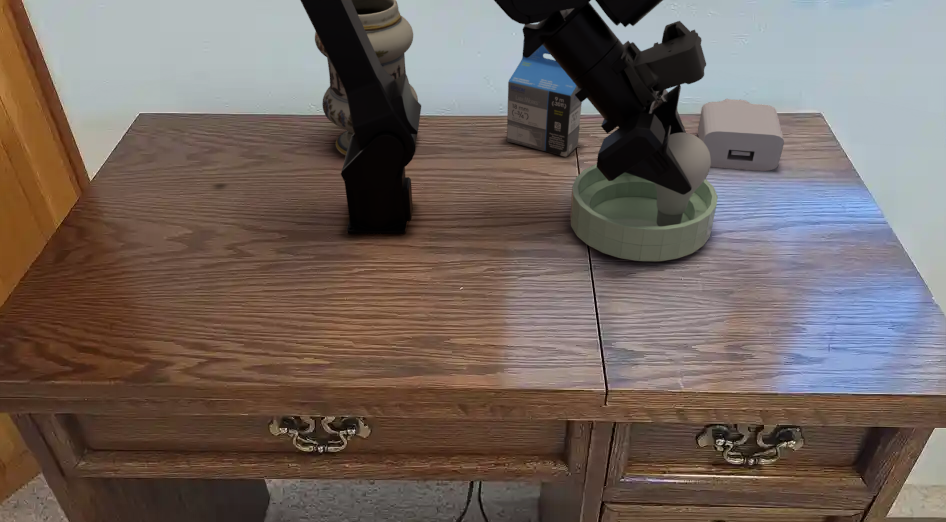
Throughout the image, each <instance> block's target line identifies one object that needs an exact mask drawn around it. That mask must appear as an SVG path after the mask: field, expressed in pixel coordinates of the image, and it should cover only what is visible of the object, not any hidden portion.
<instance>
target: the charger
mask: <svg viewBox="0 0 946 522" xmlns="http://www.w3.org/2000/svg"><path fill="white" fill-rule="evenodd" d="M777 111H778V110H777V109H776V108H775V107H774V106H772V105H769V104H762V103H761V104H760V103H752V102H749V101H747V100H745V99H730V98H725V99H723V100H720V101H708V102H706V103H704V104H702V107H701V110H700V116H699V121H698V127H697V135H698V136H697V137H698V138H699V139H701V140H702V141H703V142H704V144H705V145H706V146H707V148H708V150H709V153H710V158H711V166H710V168H718V169H719V168H720V169H733V170H747V171H759V172H765V171H766V172H768V171H773V170H775V169H777V168H778V167H779V164H780V160H781V156H782V153H783V148H784V145H785V138H784V135H783V132H782V128H781V122H780V120H779V116H778V112H777Z"/></svg>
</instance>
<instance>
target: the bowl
mask: <svg viewBox="0 0 946 522" xmlns="http://www.w3.org/2000/svg"><path fill="white" fill-rule="evenodd" d="M717 204H718V194H717V192H716V189H715V186H713V184H711V182H710V181H709V180H708V179H707V178H706V179H705V180H704V181H703V183H702V184H701V185H700V186H699V187H698V188H697V189H696V190H695V191H694V193H693V194H692V196H691V197H690V199H689V202H688V205H687V208H686V210H685V212H684V213H683V216H682V220H681V224H676V225H669V226H658V225H657V213H658V208H657V191H656V186H655V184H654V183H653V182H651V181H648V180H646V179H643V178H640V177H637V176H634V175H631V174H628V173H623V174H622V175H620V176H619V177H617V178H616V179H614V180H613V181H608V180H607V178H606V177H605V176H604V175H603V174H602V173H601V172H600V170H599V169H598V168H597V163H595V164H593V165H591V166H589V167H587V168H586V169H584V170H583V171H581V172H580V173H579V174H578V175H577V176H576V177H575V179H574V181H573V185H572V187H571V200H570V211H569V220H570V227H571V229H572V230H573V232H574V234H575V235H576V236H577V238H579V239H580V240H581V241H582V242H583V243H584V244H586V246H588V247H591V248H592V249H595V250H596V251H598V252H600V253H602V254H605V255H609V256H611V257H615V258H618V259H622V260H623V259H624V260H629V261H635V262H637V261H638V262H664V261H672V260H677V259H680V258H683V257H687V256H689V255H692V254H693V253H695V252H697V251H698V250H699V249H702V248H703V247H704V245H705V244H706V243H707V242H708V240H709V239H710V238H711V234H712V233H711V232H712V228H713V224H714V220H715V214H716V209H717V206H718V205H717Z"/></svg>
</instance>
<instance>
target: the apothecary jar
mask: <svg viewBox="0 0 946 522" xmlns="http://www.w3.org/2000/svg"><path fill="white" fill-rule="evenodd" d="M351 1H352V3H353V5H354V7H355V9H356V12H357V14H358V16H359V18H360V20H361V22H362V25H363V27H364V29H365V31H366V33H367V36H368V38H369V40H370V42H371V44H372V46H373V49H374V51H375V53H376V55H377V57H378V59H379V62H380V64H381V65H382V67H383V68H384V69H385V70H386V71H387V72H388V73H389V74H390V75H391V76H392V77H393V78H394V79H397V78H399V77H400V76H402V75H403V74H406V75H407V72H406V56H405V53H406V52H407V51H408V50H409V49H410V47H411V46H412V44H413V42H414V41H413V40H414V30H413V26H412V25H411V24H410V22H409V21H408V19H406V18H405V17H404V16H403V15H402V14H401V12H400V10H399V4H398V1H397V0H351ZM314 42H315V46H316V48H317V50H318V51H319V52H320V53H321V54H322V55H323V56H324V57H326V59H327V68H328V75H329V86H328V88H327V89H326V91H325V92H324V95H323V97H322V110H323V114H324V116H325V117H326V118H327V120H328V121H329V122H331V123H332V124H333V125H336V127H338V128H340V129H342V130H345V131H344V132H342V133H341V134H339V136H338V137H337V138H336V141H335V147H336V149H337V151H338V152H339V153H340V154H342V155H343V156H345V157H346V153H347V150H348V146H349V142H350V139H351V136H352V135H353V134H354V130H353V127H352V122H351V116H350V111H349V105H348V100H347V95H346V91H345V89H344V87H343V85H342V83H341V81H340V79H339V77H338V75H337V73H336V71H335V69H334V67H333V65H332V63H331V61H330V59H329V57H328V55H327V53H326V51H325V49H324V47H323V45H322V43H321V41H320V39H319V37H318V35H317V33H316V31H315V32H314ZM410 88H411V92H412V94H413V96H414V98H415V99H416V100H417V101H418V102H419V98H418V94H417V91H416V89H415V88H414V87H413V85H412V84H410Z"/></svg>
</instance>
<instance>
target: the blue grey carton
mask: <svg viewBox="0 0 946 522" xmlns="http://www.w3.org/2000/svg"><path fill="white" fill-rule="evenodd" d="M522 43H523V44H522V50H523V49H524V40H523V42H522ZM544 55H551V54H550V53H549V52H548V51H547V50H546V48H545V47H544V46H543V45H542V46H541V47H540V48H538V49H537V50H536V51H535V52H534V53H533V54H532V55H531V56H530V57H528V58H525V57H524V56H523V55H522V58H521V60H520V61H519V64H518V65H517V67H516V68H515V70H514V72H513V73H512V75H511V76H510V78H509V80H508V82H507V122H506V125H507V126H506V141H507V142H508V143H512V144H515V145H520V146H523V147H527V148H530V149H534V150H539V151H542V152H546V153H549V154H553V155H557V156H561V157H564V158H567V157H569V156H570V154H572V153H573V152H574V151H575V150H576V149H577V148H578V146H579V139H580V137H579V136H580V126H581V125H580V124H581V114H582V103H583V102H580V101H579V99H578V98H577V97H576V96H575V93H576V91H577V89H578V87H577V85H576V84H575V83H574V82H573V81H572V80H571V78H570V77H569V76H568V75H567V74H566V72H565V71H564V70H563V69H562V68H561V66H560V65H559V64H558V63H557V62H556V60H555V59H551V58H546V57H544Z"/></svg>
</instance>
